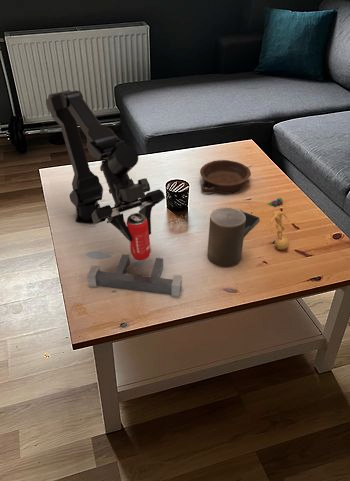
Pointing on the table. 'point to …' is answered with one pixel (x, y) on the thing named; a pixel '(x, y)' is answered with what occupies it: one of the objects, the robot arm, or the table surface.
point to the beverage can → (139, 236)
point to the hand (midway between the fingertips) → (140, 237)
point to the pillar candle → (226, 236)
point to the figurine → (279, 231)
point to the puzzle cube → (276, 202)
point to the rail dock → (135, 279)
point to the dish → (224, 176)
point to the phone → (250, 222)
